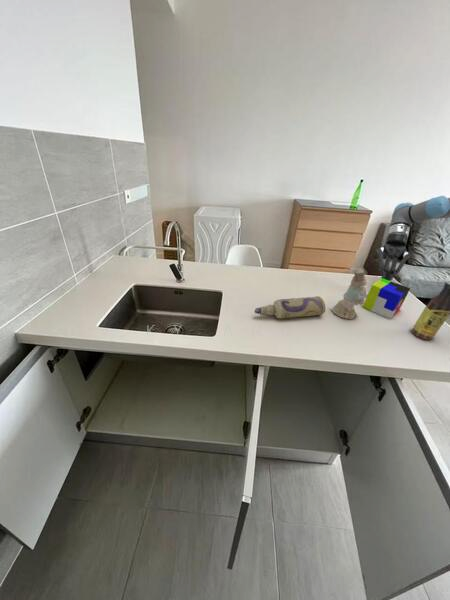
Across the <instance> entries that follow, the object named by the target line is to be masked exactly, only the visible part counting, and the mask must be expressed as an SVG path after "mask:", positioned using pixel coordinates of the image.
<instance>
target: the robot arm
mask: <svg viewBox="0 0 450 600" xmlns="http://www.w3.org/2000/svg"><path fill="white" fill-rule="evenodd" d="M448 218H450V197H447V196H445V195H440V196H436V197H431V198H430V199H427V200H424V201H421V202H419V203H416V204H413V203H412V202H402V203H398V204H397V205H396V206H395V208H394V210H393V213H392V216H391V220H390V224H389V228H388V232H387V234H386V235H387V237H386V239H385V244H384V245H383V247H377V249H376V251H375V252H376V254H377V270H378V272H381V277H380V278H381V279H382V278H383V279H386V280H388V281H391V282H392V280H393V279H394V275H398V274H399V273H400V272H401V270H402V268H403V267H404V265H405V264H406V262H407V260H408V259H409V258H410V257H411V256H412V255H413V254H412V252H408V251H407V242H408V238H409V234H410V230H411V226H412V225H413V224H418V223H421V222H425V221H429V220H437V219H448ZM384 254H385V255H386V257H385V261H384ZM400 256H402V257H403V258H402V259H401V261H400V262H399V264H398V260H399V257H400ZM391 259H392V261H391ZM390 263H391V266H390ZM397 264H398V266H397ZM389 266H390V269H389ZM388 270H389V271H388ZM381 279H380V280H381Z"/></svg>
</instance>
